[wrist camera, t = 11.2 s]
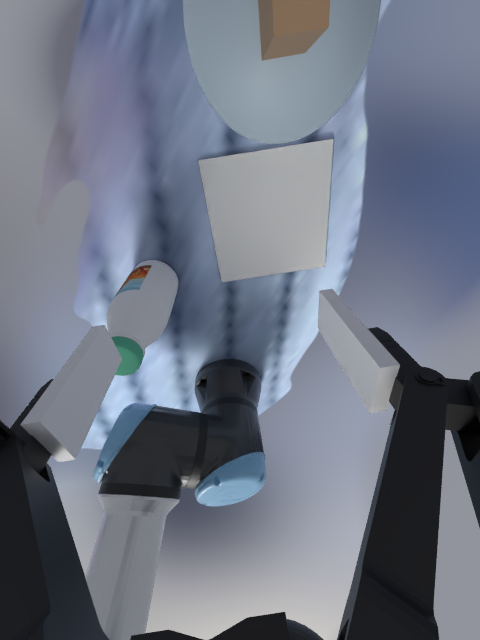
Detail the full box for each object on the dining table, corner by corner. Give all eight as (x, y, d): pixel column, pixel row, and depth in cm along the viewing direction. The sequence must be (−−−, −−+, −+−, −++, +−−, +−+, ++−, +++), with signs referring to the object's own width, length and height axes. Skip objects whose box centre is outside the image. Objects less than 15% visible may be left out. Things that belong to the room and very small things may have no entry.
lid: (361, 130, 27) (399, 125, 21) (207, 156, 28) (204, 158, 22) (394, -171, 18) (480, -327, 12) (156, -125, 18) (128, -254, 12)
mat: (323, 265, 44) (324, 266, 43) (221, 281, 44) (221, 282, 43) (331, 138, 33) (333, 138, 33) (198, 160, 34) (198, 160, 33)
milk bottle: (173, 256, 41) (143, 329, 24) (183, 297, 45) (163, 383, 29) (126, 260, 41) (63, 337, 24) (140, 301, 45) (95, 389, 29)
